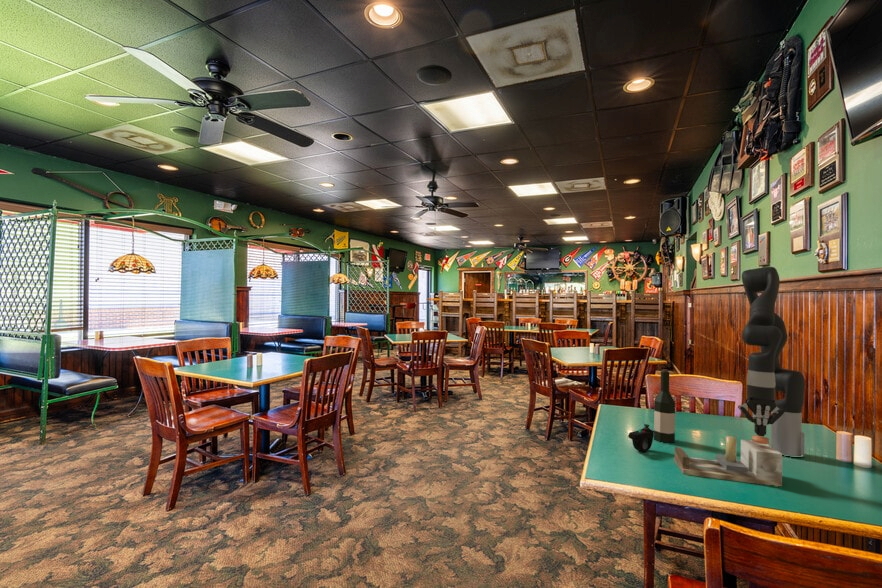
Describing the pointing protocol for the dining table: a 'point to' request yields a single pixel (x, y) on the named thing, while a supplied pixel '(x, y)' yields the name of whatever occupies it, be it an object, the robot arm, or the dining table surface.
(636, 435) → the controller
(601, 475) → the dining table surface
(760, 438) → the button
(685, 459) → the rail board
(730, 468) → the carriage
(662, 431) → the wine bottle
